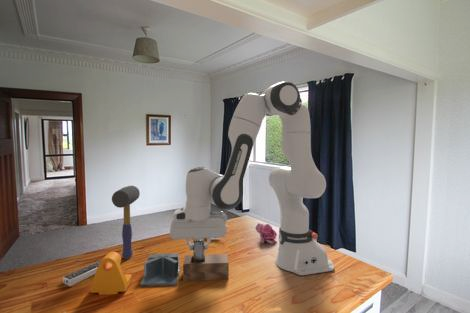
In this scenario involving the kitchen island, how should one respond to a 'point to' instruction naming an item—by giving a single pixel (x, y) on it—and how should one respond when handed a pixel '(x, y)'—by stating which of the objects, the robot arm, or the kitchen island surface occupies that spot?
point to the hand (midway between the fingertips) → (198, 249)
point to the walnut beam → (206, 268)
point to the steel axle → (198, 250)
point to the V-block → (161, 270)
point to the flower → (266, 233)
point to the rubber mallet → (126, 215)
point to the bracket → (110, 276)
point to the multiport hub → (80, 274)
